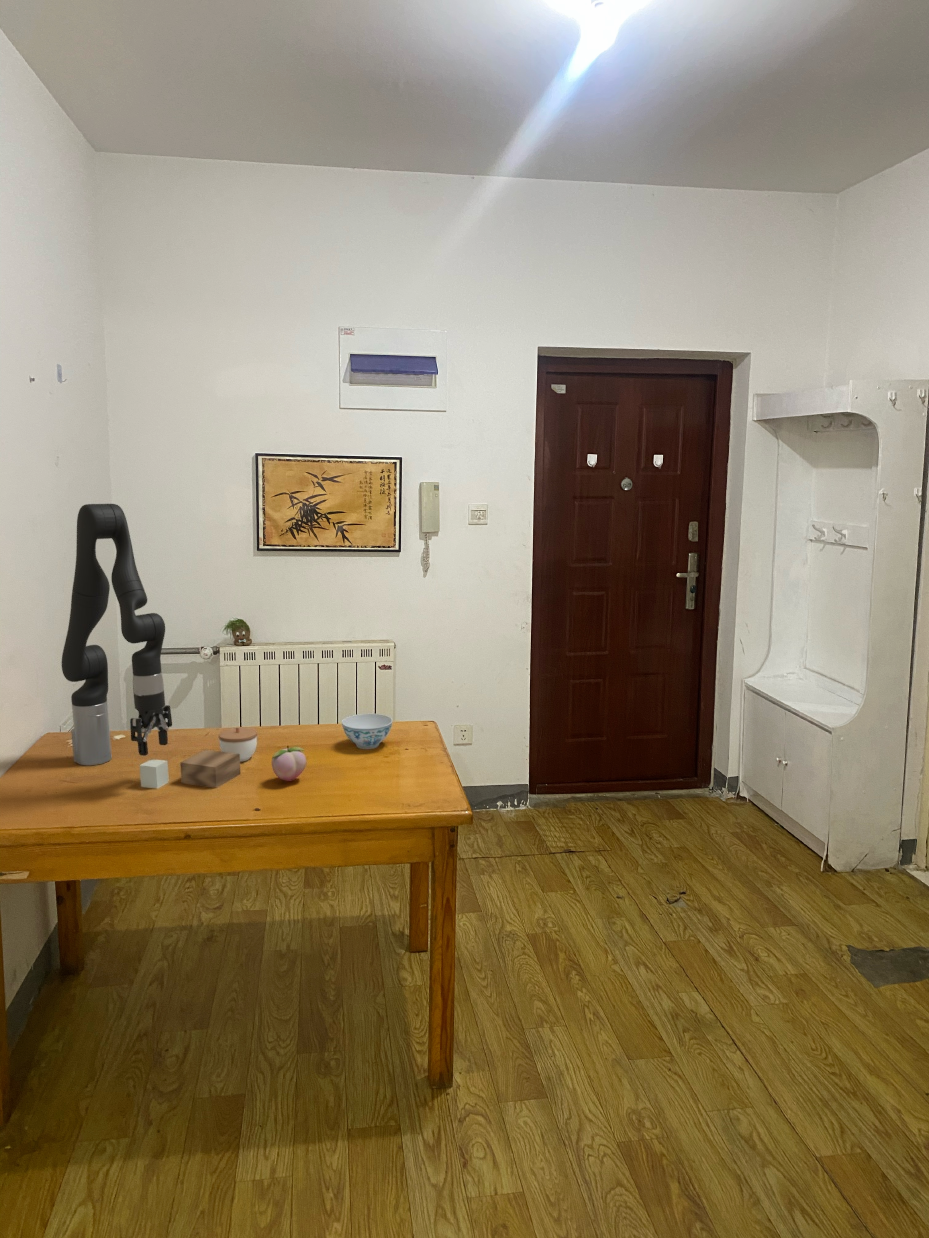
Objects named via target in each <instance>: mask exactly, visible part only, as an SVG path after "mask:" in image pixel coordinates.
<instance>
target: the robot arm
mask: <svg viewBox="0 0 929 1238" xmlns="http://www.w3.org/2000/svg"><path fill="white" fill-rule="evenodd" d="M127 521H128V520H127V517H126V513H125V512H124V510H123V508H122V507H121V506H120V505H118V504H116V503H88V504H84V505H82V506H81V507H80V508H79V511H78V514H77V518H76V551H75V552H76V553H75V555H76V556H75V557H76V558H75V568H74V575H73V576H74V577H73V582H72V583H73V584H72V589H71V590H72V592H71V597H70V598H71V599H70V600H71V602H70V613H69V622H68V627H67V632H66V636H65V640H64V645H63V650H62V654H61V655H62V656H61V672H62V675H63V677H64V678H65V679H66V680H67V681H68V682H71V683H72V682H73V683H75V682H76V683H77V682H82V681H84V682H83V684H82V685H81V686H80V687H79V688H78V689H76V690H75V691H74V692H72V694H71V709H72V720H73V728H72V729H71V730H70V734H71V743H72V755H73V756H72V757H73V762H74V763H77V764H78V765H81V766H96V765H102V764H105V763H107V762H109V761H111V760H112V758H113V757H112V744H111V732H110V721H109V720H110V719H109V709H108V707H109V706H108V697H107V696H108V693H109V664H108V663H109V662H108V658H107V657H108V656H107V654H106V651H105V650H104V649H103V648H102V647H101V646H100V645H98V644H89V645H87V643H88V641H89V637H90V635H91V634H92V631H93V630H94V629H95V628H96V626H97V625H98V624H99V622H100V621H101V620H102V617H104V615H105V613H106V611H107V608H108V603H109V598H110V581H109V579H108V576H107V575H106V573H105V571H104V570H103V568H102V566H101V565H100V563H99V560H98V558H97V550H96V545H97V541H98V540H107V539H108V540H109V539H111V540H112V541H113V544H114V546H115V551H116V552H115V553H116V555H115V558H114V564H113V566H112V567H113V568H112V570H111V571H112V572H111V577H110V578H111V585H112V589H113V591H114V594H115V596H116V599H117V602H118V606H119V611H120V612H119V613H120V614H119V615H120V629H121V634H122V636H123V639H124V640H125V641H127V642H128V643H130V644H140V643H145V642H146V644H145V645H144V647H142V648H141V649H138V650H137V651H135V652H134V653H133V654H131V667H132V691H133V692H132V693H133V702H134V709H135V710H136V711H137V712H138V716H137V717H131V718H130V720H129V725H130V727H129V728H130V741H131V742H136V743H137V748H138V749H137V750H138V755H140V756H143V757H144V756H147V755H149V751H148V750H149V748H148V741H147V739H148V737H149V734H151V732H152V730H153V729H155V728H156V729H157V730H158V731H157V733H158V734H157V735H158V744H159V745H160V746H167V745H168V744H169V743H168V741H169V740H168V731H169V729H170V728H171V727H172V726H173V719H172V718H173V717H172V710H171V706H170V705H166V699H165V698H166V697H165V687H164V686H165V685H164V677H163V674H162V661H161V654H162V650H163V643H164V639H165V634H166V623H165V620H164V618H163V617H162V616H161V615H159V613H156V612H151V613H144V614H138V615H136V613H135V611H137V610H139V609H142V608H144V607H145V606H146V605H147V604H148V596H147V594H146V593H147V592H146V591H145V588H144V586H143V582H142V581H141V577H140V574H139V571H138V568H137V565H136V564H137V563H136V561H135V560H136V559H135V556H134V555H135V554H134V550H133V544H132V539H131V535H130V529H129V526H128V522H127ZM166 719H167V720H166Z"/></svg>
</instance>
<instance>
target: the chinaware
mask: <svg viewBox="0 0 929 1238" xmlns="http://www.w3.org/2000/svg"><path fill="white" fill-rule="evenodd" d="M392 725H393V718H392V717H391V716H388V715H386V714H382V713H359V714H354V715H350V716H347V717H344V718H343V719H342V720H341V726H342V729H343V733H344V734H345V736H346V737H347V738H348V740H350V742H352V743H354V744H355V745H356V747H357V748H358V749H361V750H362V749H363V750H372V749H376V748H378V747H379V746H380V743H381V742H383V741H384V740H385V739H386V738H387V737H388V735H389V734H390V731H391V729H392Z"/></svg>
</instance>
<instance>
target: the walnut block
mask: <svg viewBox="0 0 929 1238" xmlns="http://www.w3.org/2000/svg"><path fill="white" fill-rule="evenodd" d="M179 764H180V779H181V780H180V781H181V784H185V785H193V786H199V787H206V788H211V789H212V788H213V789H218V788H219V787H221V786H223V785H225V784H227V783H228V782H229V781H232V780H233V779H235V778H236V777H238V776H239V775H241V762H240V754H236V753H228V752H222V751H221V750H212V749H203V750H202V751H200V752H198V753H196V754H194V755H192V756H190V757H188V758H186V759H184V760H183V761H180V763H179Z"/></svg>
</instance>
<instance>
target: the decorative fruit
mask: <svg viewBox="0 0 929 1238" xmlns="http://www.w3.org/2000/svg"><path fill="white" fill-rule="evenodd" d="M305 751H306V750H305V749H304V748H302V747H299V746H293V747H289V745H287V747H286V748H284V749H283V748H281V749H280V750H278V751H276V752H275V753H274V754H273V755H272V758H271V769H272V770H273V773H274V775H275V776H276V777H277V778H279V779H281V780H282V781H286V782H292V781H294V780H296V779H297V778H298V777H300V775H301V774H302V773H303V772H304V771H305V769H306V767H307V757H306V755H305V754H304V753H303V752H305Z"/></svg>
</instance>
